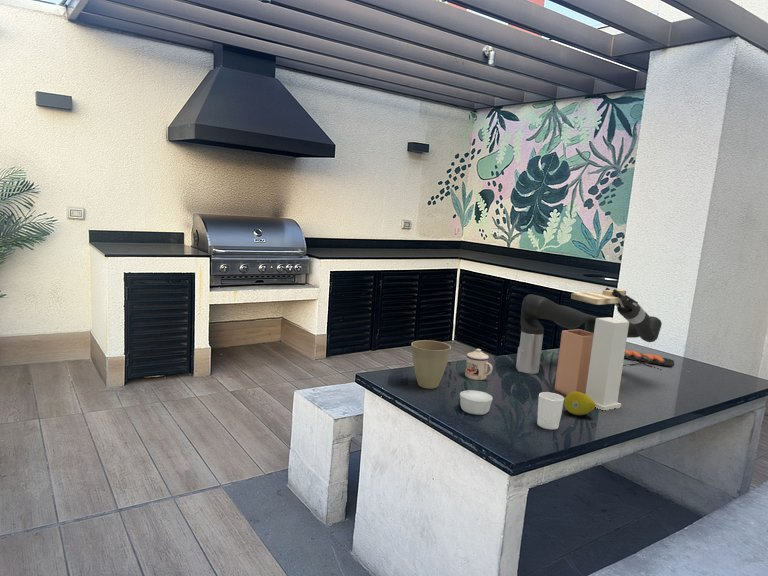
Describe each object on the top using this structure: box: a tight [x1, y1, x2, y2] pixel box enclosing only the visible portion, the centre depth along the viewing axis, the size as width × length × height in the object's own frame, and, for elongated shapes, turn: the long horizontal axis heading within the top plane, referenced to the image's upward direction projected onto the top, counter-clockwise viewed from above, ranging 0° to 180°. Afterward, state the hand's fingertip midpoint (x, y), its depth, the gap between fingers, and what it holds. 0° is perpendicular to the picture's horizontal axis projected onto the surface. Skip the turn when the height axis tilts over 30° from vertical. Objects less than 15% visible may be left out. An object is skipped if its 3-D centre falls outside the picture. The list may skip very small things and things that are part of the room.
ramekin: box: [459, 389, 493, 416], centre depth 191 cm, size 11×11×5 cm
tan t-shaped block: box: [570, 289, 627, 306], centre depth 213 cm, size 22×12×4 cm, turn 120°
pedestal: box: [586, 316, 629, 411], centre depth 204 cm, size 10×10×32 cm
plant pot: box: [411, 339, 452, 390], centre depth 211 cm, size 15×15×16 cm
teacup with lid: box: [464, 348, 493, 381], centre depth 226 cm, size 12×9×12 cm
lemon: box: [563, 391, 596, 416], centre depth 193 cm, size 11×8×8 cm
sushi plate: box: [623, 349, 675, 371], centre depth 272 cm, size 29×30×4 cm
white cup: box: [536, 391, 565, 431], centre depth 181 cm, size 8×8×10 cm
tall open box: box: [554, 328, 594, 396], centre depth 216 cm, size 10×10×24 cm
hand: (609, 290), depth 214 cm, fingers closed on tan t-shaped block, 3 cm apart
